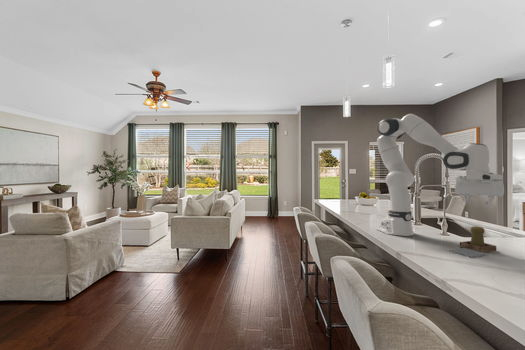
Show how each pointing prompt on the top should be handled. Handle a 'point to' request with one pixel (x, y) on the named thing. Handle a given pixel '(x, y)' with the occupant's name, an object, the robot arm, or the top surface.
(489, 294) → the top surface
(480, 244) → the olive green figurine
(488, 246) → the walnut cradle
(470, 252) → the rubber mat
